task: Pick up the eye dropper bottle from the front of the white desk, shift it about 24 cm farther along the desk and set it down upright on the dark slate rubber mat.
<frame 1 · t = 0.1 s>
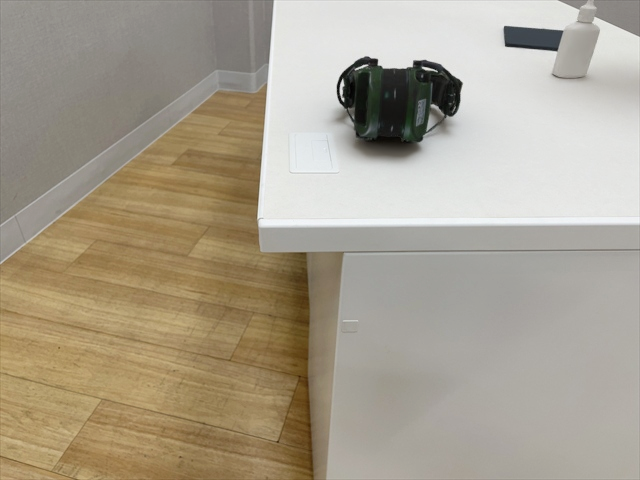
headphones: (393, 126, 67), on the table
slate mat: (539, 39, 106), on the table
eye dropper bottle: (568, 76, 86), on the table
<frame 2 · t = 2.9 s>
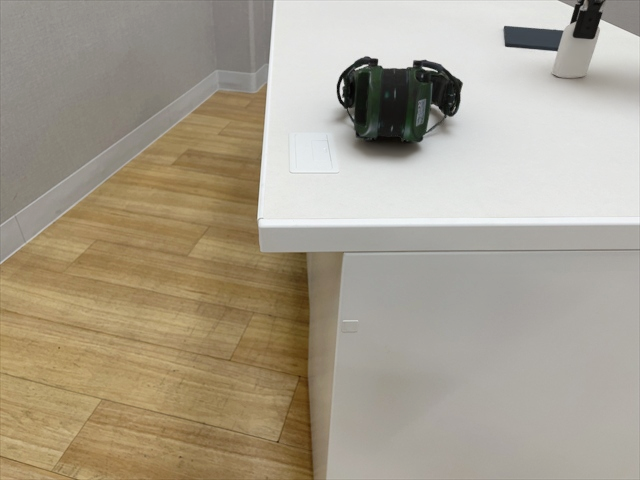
hand: (581, 33, 82), 7 cm above the table, tool pointing down, fingers closed on eye dropper bottle, 4 cm apart
eye dropper bottle: (568, 76, 86), on the table, touching gripper
everything else where it was.
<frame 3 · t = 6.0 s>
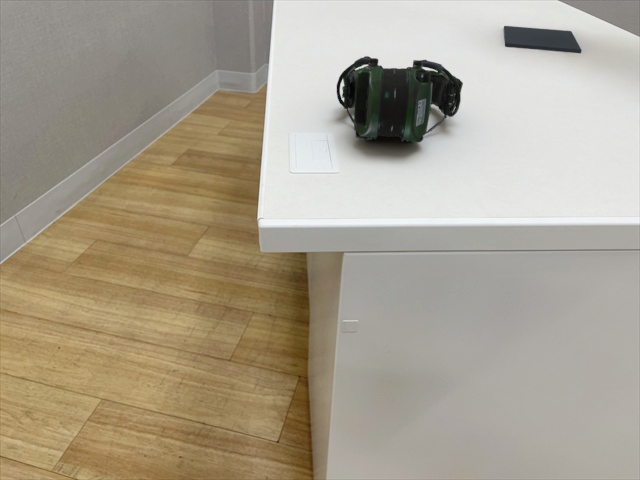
when the fingers open (7 cm above the table, at t = 9.1 s): eye dropper bottle stays where it is, resting on slate mat.
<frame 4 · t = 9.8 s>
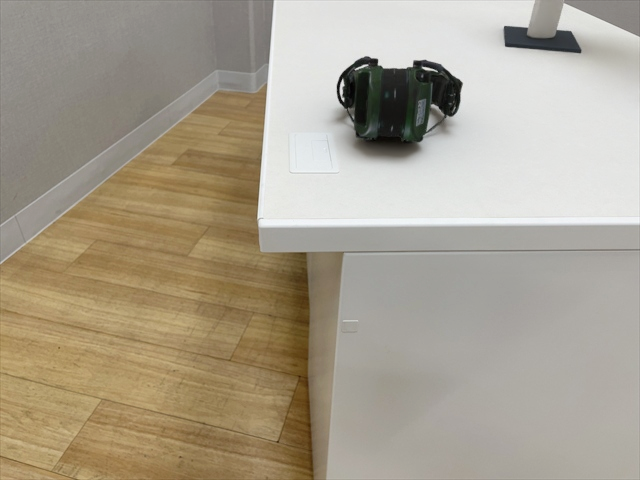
eye dropper bottle: (540, 37, 105), resting on slate mat
everything else where it was.
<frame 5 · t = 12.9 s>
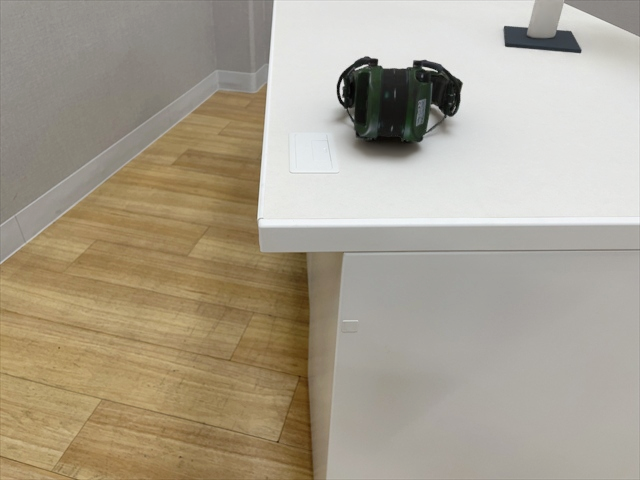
nothing on the table moved.
at the end: eye dropper bottle inside the target area on the slate mat (0.1 cm from its centre), point 0.4 cm above the slate mat's base; eye dropper bottle tilted 0°; the gripper is holding nothing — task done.
